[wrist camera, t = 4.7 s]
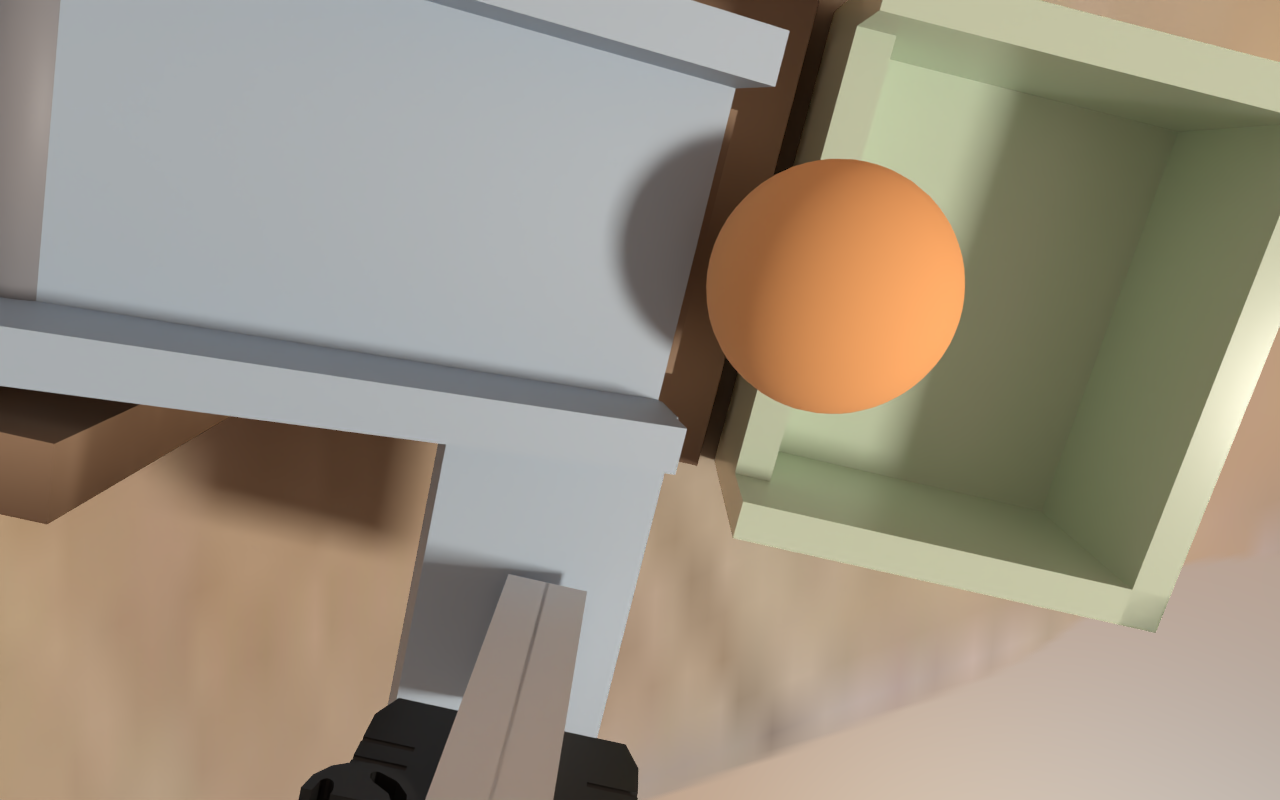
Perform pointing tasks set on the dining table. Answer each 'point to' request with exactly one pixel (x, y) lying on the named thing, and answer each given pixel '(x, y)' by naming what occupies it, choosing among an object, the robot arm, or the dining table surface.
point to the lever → (387, 255)
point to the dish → (1039, 306)
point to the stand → (140, 434)
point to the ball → (835, 286)
